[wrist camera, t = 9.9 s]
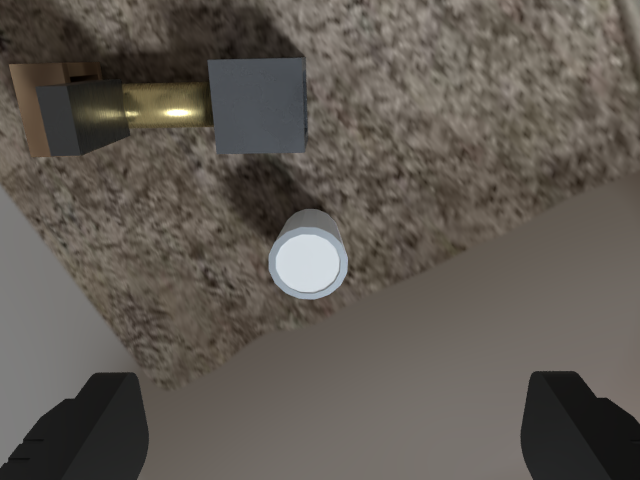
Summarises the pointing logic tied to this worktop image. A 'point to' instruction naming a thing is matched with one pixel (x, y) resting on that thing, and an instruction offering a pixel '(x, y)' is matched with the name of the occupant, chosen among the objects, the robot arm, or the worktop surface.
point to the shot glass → (308, 255)
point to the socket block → (28, 103)
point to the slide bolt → (117, 111)
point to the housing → (259, 105)
